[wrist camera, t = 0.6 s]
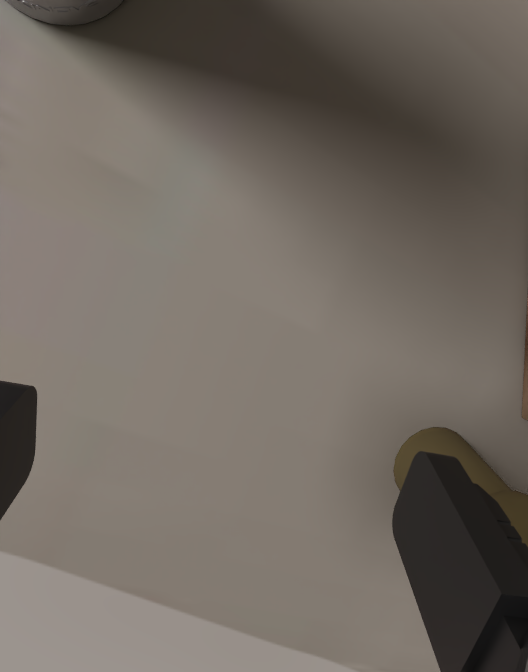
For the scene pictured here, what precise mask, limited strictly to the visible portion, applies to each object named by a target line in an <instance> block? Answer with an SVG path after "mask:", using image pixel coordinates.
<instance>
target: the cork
mask: <svg viewBox="0 0 528 672" xmlns="http://www.w3.org/2000/svg"><path fill="white" fill-rule="evenodd" d="M420 451H424V452H430V453H436V454H442V455H448V456H454V457H456V458H457V459H458V460H459V461H460V463H461V465H462V466H463V468H464V469H465V471H466V473H467V474H468V476H469V477H470V479H471V481H472V482H473V483H475V484H478V485H479V486H480V487H481V488H483V489H484V490H485V491H486V492H487V493H488V494H489V495H490V496H491V497H493V498H494V499H495V500H496V501H497V502H498V503H499V505H500V506H501V508H502V509H503V511H504V512H505V514H506V515H507V517H508V518H509V520H510V521H511V526H514V527H515V529H516V530H517V532H518V533H519V535H520V536H521V538H522V543H525V544H526V545H527V547H528V495H526V494H523V493H521V492H518V491H512V490H511V489H510V488H509V487H508V486H507V485H506V484H505V483H504V482H503V481H502V480H501V478H500V477H499V476H498V475H497V474H496V473H495V472H494V471H493V470H492V469H491V468H490V467H489V466H488V465H487V464H486V462H485V461H484V460H483V459H482V458H481V457H480V456H479V455H478V454H477V453H476V452H475V451H474V450H473V449H472V448H471V446H470V445H469V444H468V443H467V442H466V441H465V440H464V439H463V438H462V437H461V436H460V435H459V434H457V433H456V432H454V431H452V430H449V429H447V428H439V427H432V428H428V429H425V430H421V431H419V432H418V433H416V434H414V435H413V436H411V437H410V438H409V439H408V440H407V441H406V442H405V443H404V444H403V445H402V446H401V448H400V450H399V452H398V454H397V456H396V459H395V465H394V476H395V482H396V484H397V486H398V488H399V489H400V491H401V489H402V486H403V484H404V481H405V478H406V476H407V473H408V470H409V468H410V465H411V463H412V460H413V458H414V456H415V455H416V454H417V453H418V452H420Z"/></svg>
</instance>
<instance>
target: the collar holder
mask: <svg viewBox="0 0 528 672" xmlns="http://www.w3.org/2000/svg"><path fill="white" fill-rule="evenodd" d="M522 418H524V419H526V420H528V297H527V318H526V339H525V361H524V382H523V403H522Z"/></svg>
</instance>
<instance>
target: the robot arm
mask: <svg viewBox="0 0 528 672" xmlns="http://www.w3.org/2000/svg"><path fill="white" fill-rule="evenodd" d="M6 1H7V2H8V3H9V4H11V5H12V6H13V7H14V8H16V9H17V10H19V11H21V12H23V13H25V14H26V15H28V16H30V17H32V18H35V19H38V20H41V21H44V22H47V23H50V24H58V25H67V26H69V25H78V24H86V23H89V22H91V21H94V20H97V19H100V18H102V17H104V16H105V15H107V14H108V13H110V12H111V11H113V10H114V9H116V8H117V7H118V6H119V5H120V4H121V2H122V1H123V0H6ZM36 415H37V391H36V389H35V387H34V386H29V385H23V384H17V383H11V382H5V381H0V520H1V518H2V517H3V515H4V514H5V512H6V511H7V509H8V508H9V506H10V505H11V503H12V502H13V500H14V499H15V497H16V496H17V494H18V493H19V491H20V489H21V488H22V486H23V485H24V483H25V482H26V480H27V478H28V476H29V473H30V471H31V468H32V465H33V461H34V456H35V443H36ZM392 527H393V535H394V538H395V541H396V544H397V547H398V550H399V553H400V556H401V559H402V562H403V564H404V567H405V570H406V573H407V576H408V579H409V582H410V584H411V587H412V590H413V593H414V596H415V599H416V602H417V605H418V607H419V610H420V613H421V616H422V619H423V622H424V625H425V628H426V630H427V633H428V636H429V639H430V642H431V645H432V648H433V651H434V653H435V656H436V659H437V662H438V665H439V668H440V671H441V672H528V547H527V545H526V544H525V543H522V538H521V536H520V535H519V533H518V532H517V530H516V529H515V527H514V526H511V521H510V520H509V518H508V517H507V515H506V514H505V512H504V511H503V509H502V508H501V506H500V505H499V503H498V502H497V501H496V500H495V499H494V498H493V497H491V496H490V495H489V494H488V493H487V492H486V491H485V490H484V489H483V488H481V487H480V486H479V485H478V484H475V483H473V482H472V481H471V479H470V477H469V476H468V474H467V473H466V471H465V469H464V468H463V466H462V465H461V463H460V461H459V460H458V459H457V458H456V457H454V456H448V455H442V454H436V453H430V452H424V451H420V452H418V453H417V454H416V455H415V456H414V458H413V460H412V463H411V465H410V468H409V470H408V473H407V476H406V478H405V481H404V484H403V486H402V489H401V491H400V494H399V497H398V499H397V502H396V505H395V508H394V512H393V520H392Z"/></svg>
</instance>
